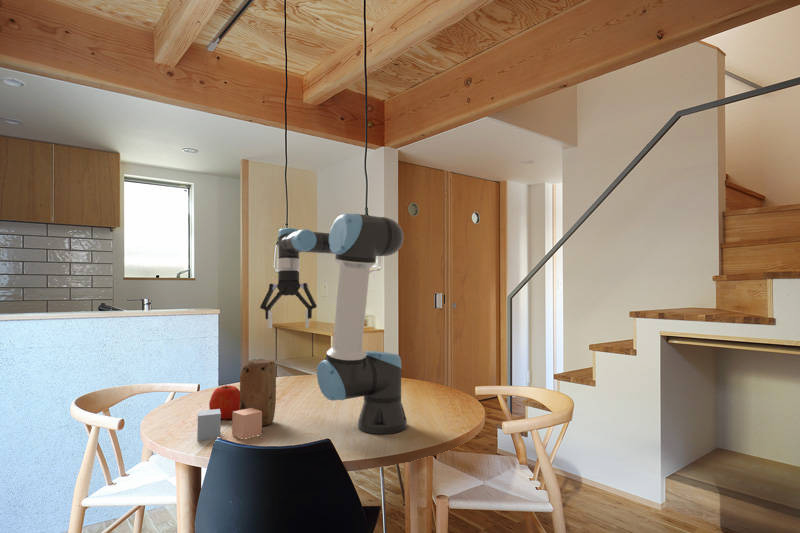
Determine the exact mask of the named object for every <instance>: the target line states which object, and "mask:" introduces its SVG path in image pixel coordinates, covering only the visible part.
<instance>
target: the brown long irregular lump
mask: <svg viewBox="0 0 800 533" xmlns="http://www.w3.org/2000/svg"><path fill="white" fill-rule="evenodd" d="M239 379H240V380H239V391H240V407H239V408H240V410H243V409H248V408H253V409H256V410H260V411H262V427H263V426H268V425H270V424H271V423H272V424H273V422H274V420H275V411H276V403H277V402H276V400H277V367H276V361H275V360H274V359H265V358H258V359H251V360H248V361H247V362H246V363H245V364H244V365H243V366H242V370H241V373H240V377H239Z"/></svg>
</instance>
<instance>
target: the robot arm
mask: <svg viewBox="0 0 800 533" xmlns="http://www.w3.org/2000/svg"><path fill="white" fill-rule="evenodd" d="M404 236H405V235H404V232H403V229H402V227H401V226H400V224H399V223H398V222H397V221H396V220H394V219H391V218H389V217H386V216H374V215H367V214H366V215H365V214H360V213H343V214H340V215H339V216H337V217H336V219H335V220H334V221H333V224H332V226H330V231H329V232H321V231H319V232H318V231H312V230H310V229H297V228H293V227H285V228H284V227H283V228H280V229H279V230H278V237H277V242H278V243H277V245H278V246H277V247H278V250H277V252H278V253H277V254H278V259H277V261H278V262H277V263H278V265H277V268H278V270H279V271H278V272H277V273H278V276H277V279H278V282H277V284H276V283H269V286H268V291H267V293H266V294H265V296H264V298H263V301H262V302H261V304H260V309H261V310H264V312H265V313H264V314H265V320H267V329H269V330H270V329H273V310H271V309H272V308H273V307H274V305H275V304H276V303H277V302H278V301H279V299H281V297H282V296H285V297H287V296H295V297H297V299H298V300H299V301H300V302H301V303H302V304H303V305H304V306H305V308H307V309H305V329H309V328H310V319H312V318H313V315H312V314H313V309H316V308H318V306H317V305H318V304H316V301H315V299H314V297H313V296H312V293H311V291H310V290H309V284H308V283H307V282H304V283H300V271H299V269H300V253H314V254H316V253H317V254H332V255H333V254H334V255H335V261H336V262H337V263H338V265H339V274H338V285H337V293H336V294H337V295H336V306H335V315H334V316H335V318H334V325H333V326H334V327H333V337H332V339H333V340H332V346H331V347H330V348H329V349H328V350H327V351H326V356H325V358H326V359H323V360H322V361H320V362H319V363H318V364H317V367H316V380H317V385H318V386H319V389H320V392H321V393H322V395H323V397H324V398H325V399H327V400H328V401H344V400H348V399H355V398H359V397H360V398H361V397H363V404H362V408H361V410H360V414H359V417H358V419H357V422H358V423H357V428H358V430H360V431H362V432H364V433H368V434H375V435H387V434H396V433H400V432H403V431H405V430H406V429H407V427H408V420H407V415H406V413H405V409H404V406H403V402H402V369H403V368H402V360H401V356H400V355H399V354H397V353H395V352H394V353H392V352H387V351H376V350H364V349H363V339H364V330H365V321H366V320H365V318H366V308H367V297H368V287H369V278H370V269H371V268H372V267H374V265H375V264H376V260H377V257H388V256H391V255H394V254H396V253H397V252H398V251H399V250H400V249H401V248H402V246H403V243H404V240H405V239H404V238H405V237H404ZM276 289H277V290H278V292H277V293H276V295H275V296H274V297H273V298H272V300H271V301H270V299H271V297H272V295H273V293H274V291H275V290H276ZM300 289H302V290H303V291H304V293H305V294H306V297H307V299H308V300H309V302H308V300H306V299H305V298H304V297H303V295H302V293H300V291H299V290H300Z"/></svg>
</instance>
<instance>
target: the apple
mask: <svg viewBox="0 0 800 533" xmlns="http://www.w3.org/2000/svg"><path fill="white" fill-rule="evenodd" d="M208 406H209V409H208V410H213V409H220V412H221V420H226V419H228V420H232V414H233V412H234V411H238V410H240V408H239V407H240V388H239V387H237V386H233V385H223V386H219V387H216V388H215V389H214V391H213V392H212V394H211V396H210V400H209V404H208Z"/></svg>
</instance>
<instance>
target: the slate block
mask: <svg viewBox="0 0 800 533" xmlns="http://www.w3.org/2000/svg"><path fill="white" fill-rule="evenodd" d="M221 420H222V419H221V412H220V409H213V410H210V409H204V410H198V411H197V433H196V435H197V442H198V441H199V442H201V441H209V440H216V439H215V438H217V437H220V438H221V427H222V426H221V423H222V422H221Z"/></svg>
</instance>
